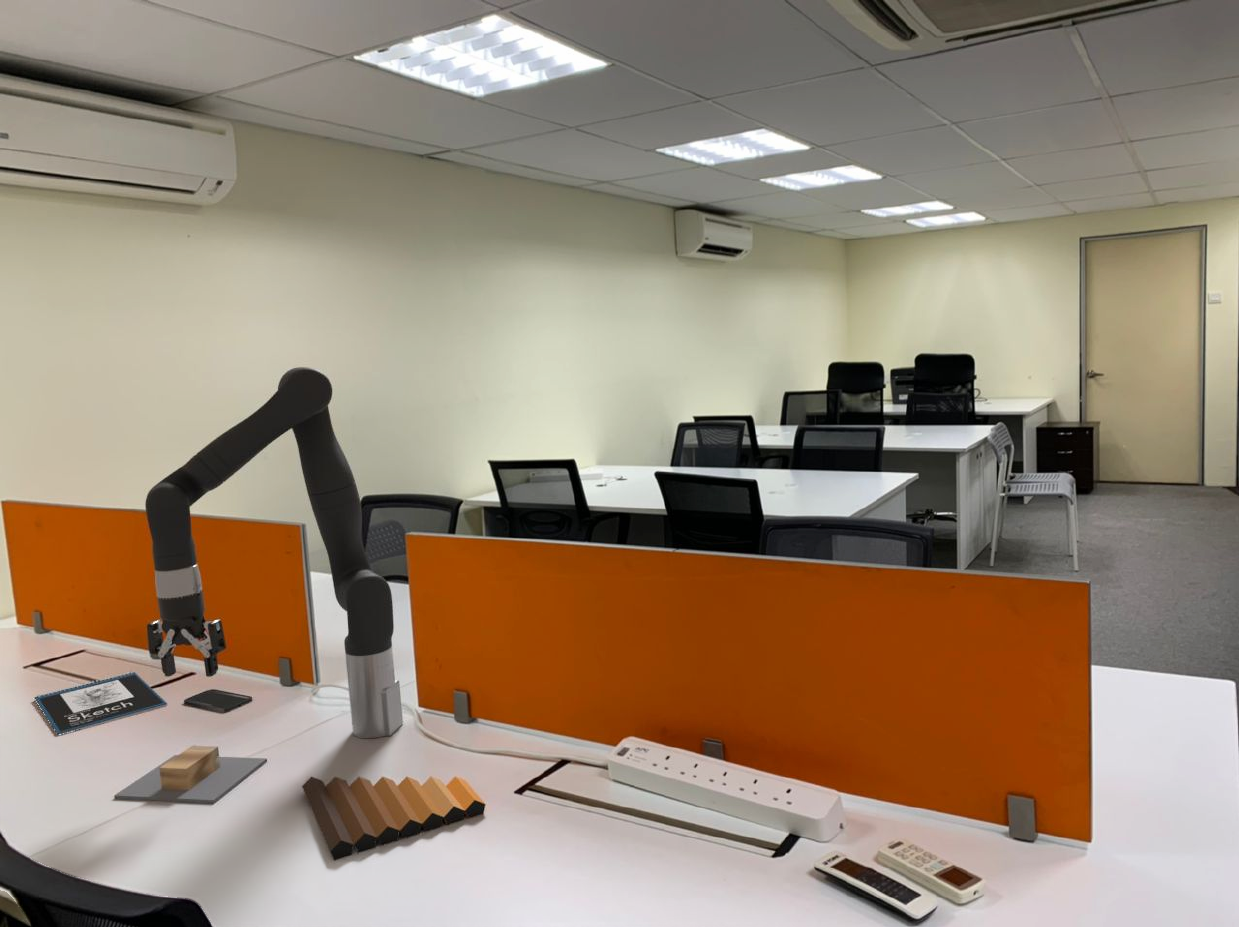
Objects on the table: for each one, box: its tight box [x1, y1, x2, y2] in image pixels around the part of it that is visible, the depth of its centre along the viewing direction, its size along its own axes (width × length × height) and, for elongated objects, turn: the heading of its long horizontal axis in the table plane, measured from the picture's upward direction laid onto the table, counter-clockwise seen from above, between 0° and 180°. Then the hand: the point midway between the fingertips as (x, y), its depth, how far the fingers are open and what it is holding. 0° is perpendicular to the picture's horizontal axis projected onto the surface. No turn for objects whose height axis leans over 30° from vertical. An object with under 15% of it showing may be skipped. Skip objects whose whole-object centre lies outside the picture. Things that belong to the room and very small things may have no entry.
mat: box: [113, 754, 268, 804], centre depth 164 cm, size 20×16×1 cm
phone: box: [183, 688, 254, 713], centre depth 202 cm, size 8×1×15 cm
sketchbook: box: [34, 671, 168, 736], centre depth 206 cm, size 22×30×2 cm
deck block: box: [159, 745, 220, 790], centre depth 163 cm, size 9×6×4 cm, turn 169°
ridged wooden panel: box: [301, 775, 486, 861], centre depth 151 cm, size 25×3×25 cm
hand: (191, 675), depth 164 cm, fingers open, 8 cm apart
